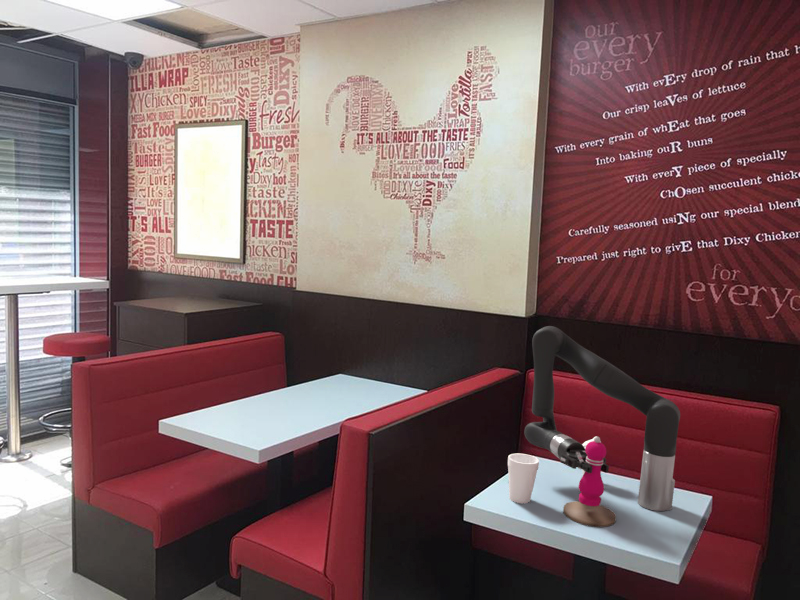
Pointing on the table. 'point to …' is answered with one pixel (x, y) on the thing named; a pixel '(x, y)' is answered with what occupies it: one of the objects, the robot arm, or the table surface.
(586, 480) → the pepper mill
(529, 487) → the foam cup
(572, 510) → the walnut board
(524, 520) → the table surface
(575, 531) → the table surface
